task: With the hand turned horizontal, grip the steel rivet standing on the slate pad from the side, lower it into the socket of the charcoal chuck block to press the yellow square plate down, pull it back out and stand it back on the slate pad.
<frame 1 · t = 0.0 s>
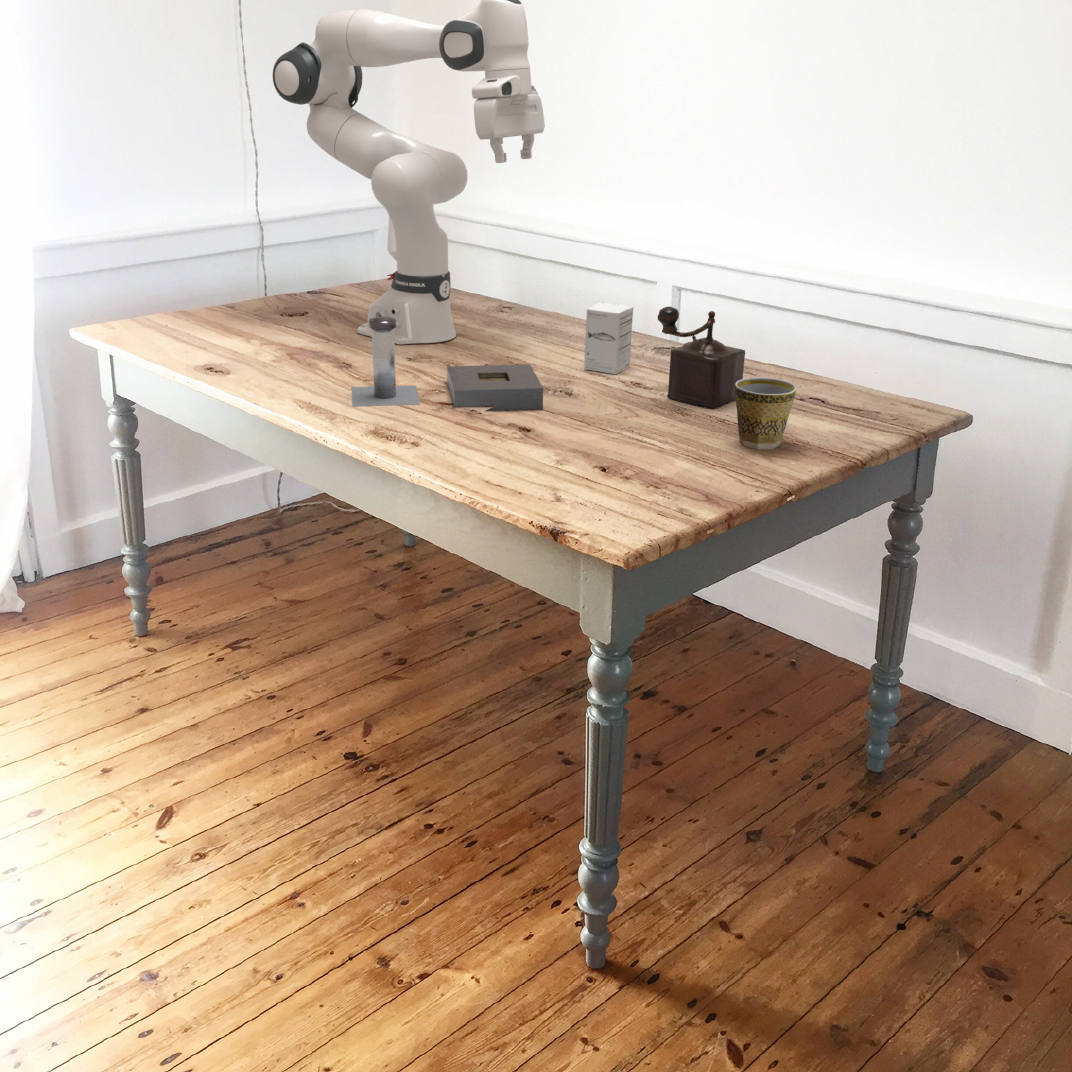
hand: (514, 160, 229), 39 cm above the table, tool pointing down, fingers open, 8 cm apart
rest pad: (385, 400, 211), on the table
manual coffee grinder: (695, 401, 215), on the table
ceramic cup: (756, 441, 195), on the table
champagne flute: (402, 302, 287), on the table
chuck block: (493, 397, 214), on the table
yellow square plate: (493, 384, 213), point 2 cm above the table, slide at 0.0 cm
supplement box: (607, 369, 234), on the table
steel rivet: (385, 395, 211), point 1 cm above the table, touching rest pad
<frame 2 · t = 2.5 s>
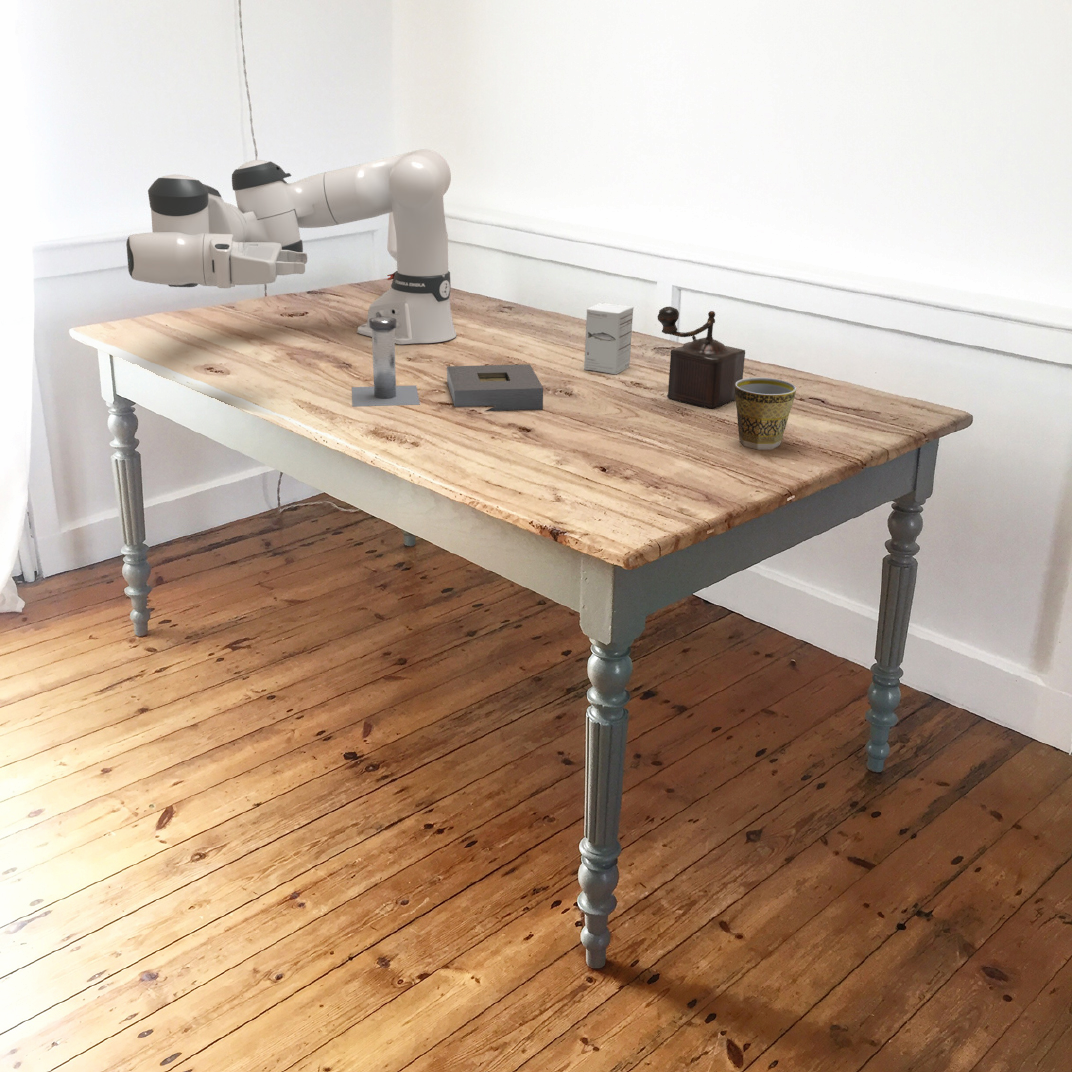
hand: (306, 263, 199), 25 cm above the table, tool horizontal, fingers open, 8 cm apart
nothing on the table moved.
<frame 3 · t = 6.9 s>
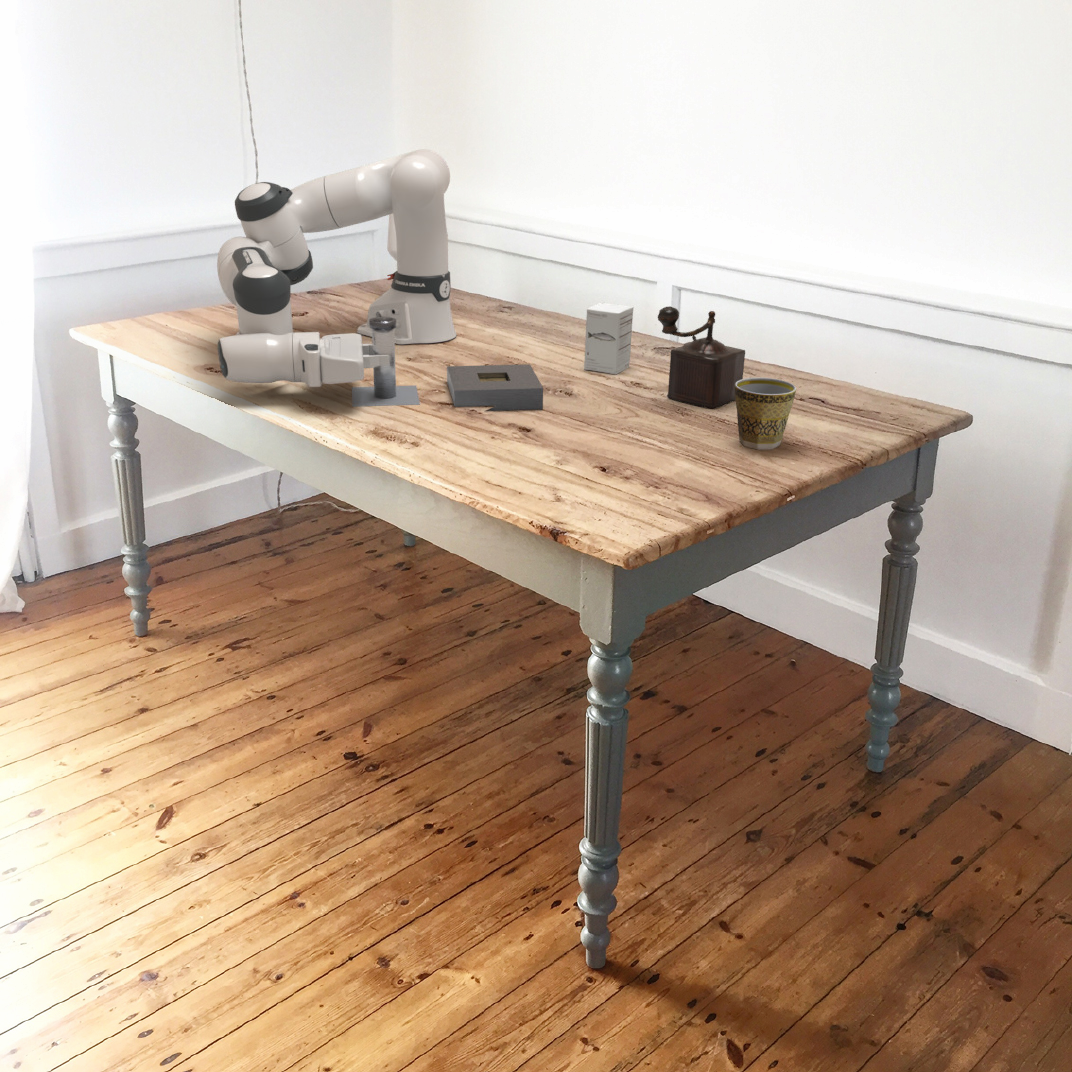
hand: (388, 355, 208), 9 cm above the table, tool horizontal, fingers closed on steel rivet, 4 cm apart
steel rivet: (385, 395, 211), point 1 cm above the table, touching gripper, rest pad
everything else where it was.
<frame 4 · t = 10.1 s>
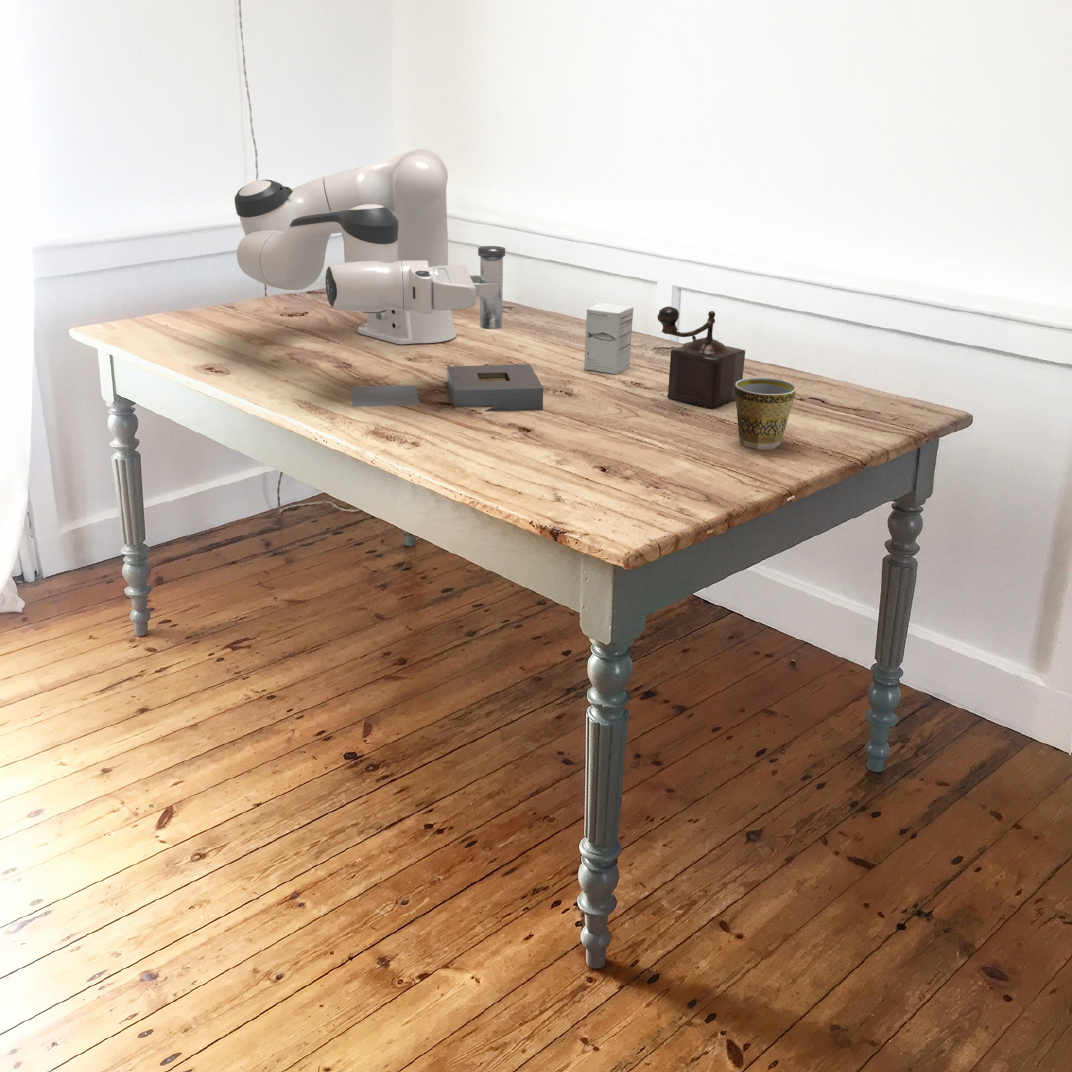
hand: (496, 285, 205), 21 cm above the table, tool horizontal, fingers closed on steel rivet, 4 cm apart
steel rivet: (491, 326, 208), point 13 cm above the table, touching gripper
everything else where it was.
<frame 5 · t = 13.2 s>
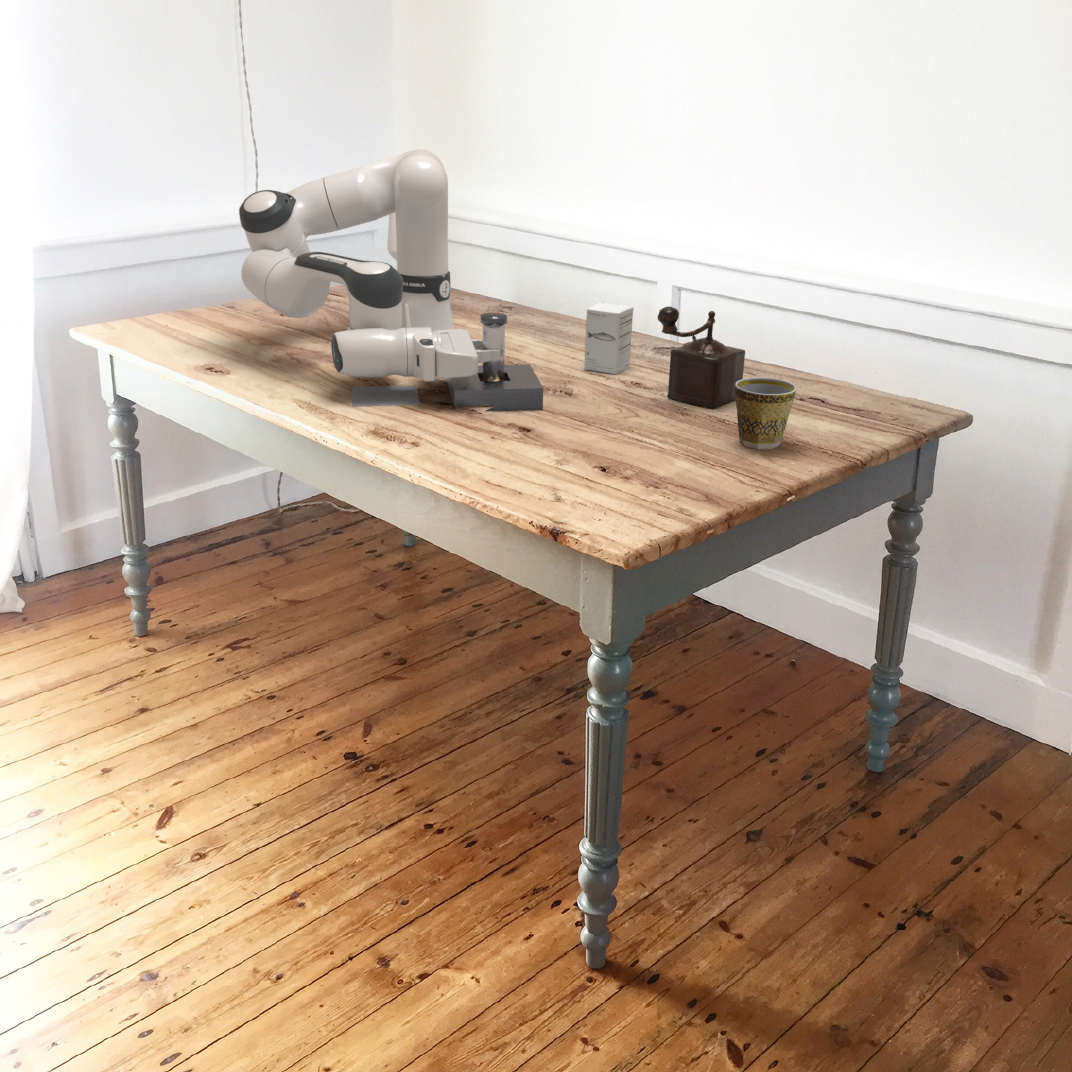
hand: (498, 350, 210), 9 cm above the table, tool horizontal, fingers closed on steel rivet, 4 cm apart
yellow square plate: (493, 392, 214), point 1 cm above the table, slide at 1.6 cm, touching steel rivet
steel rivet: (493, 390, 213), point 1 cm above the table, touching yellow square plate, gripper
everything else where it was.
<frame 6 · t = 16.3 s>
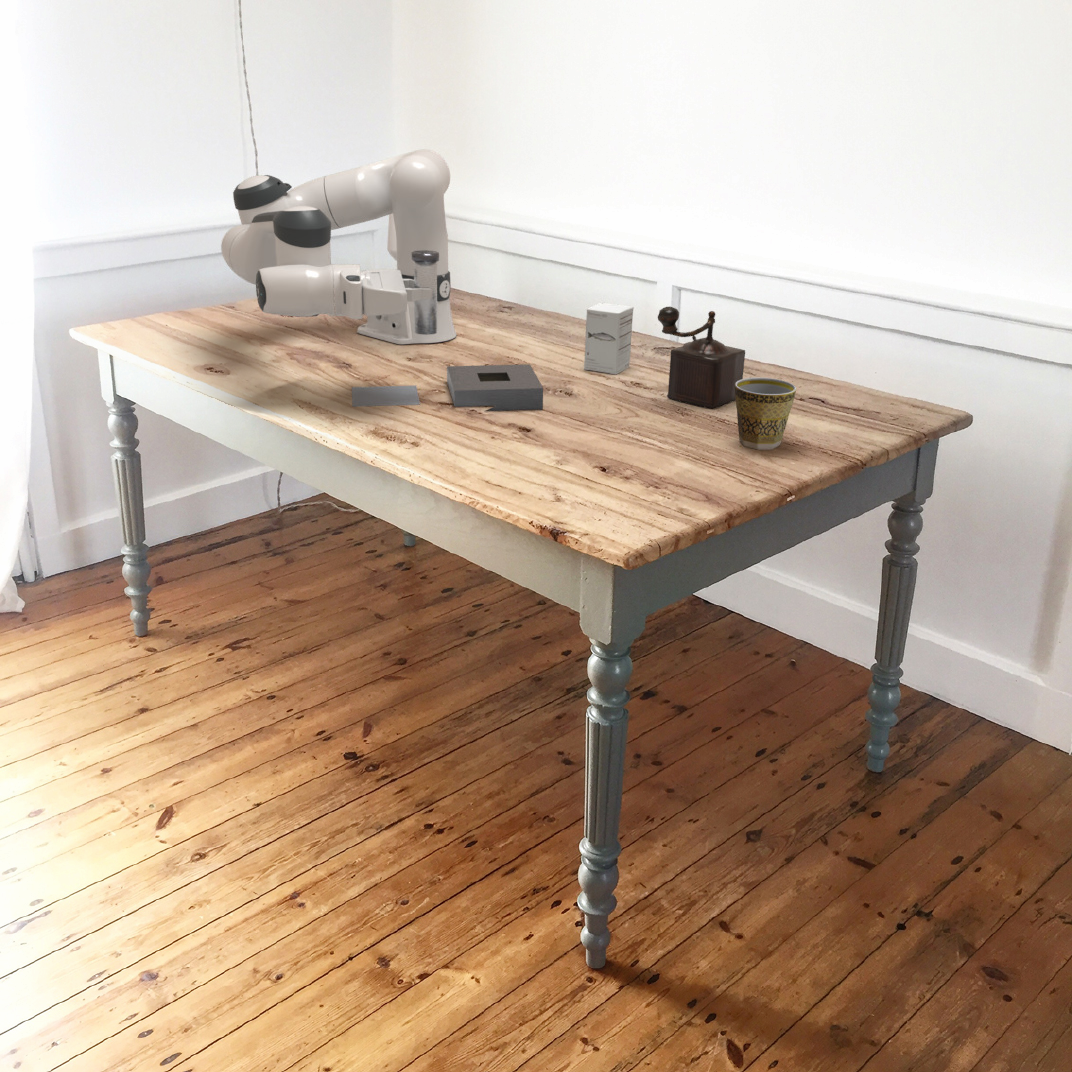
hand: (430, 289, 203), 20 cm above the table, tool horizontal, fingers closed on steel rivet, 4 cm apart
yellow square plate: (493, 392, 214), point 1 cm above the table, slide at 1.6 cm
steel rivet: (425, 332, 206), point 13 cm above the table, touching gripper
everything else where it was.
when the fingers open (9 cm above the table, at t = 19.4 s): steel rivet stays where it is, resting on rest pad.
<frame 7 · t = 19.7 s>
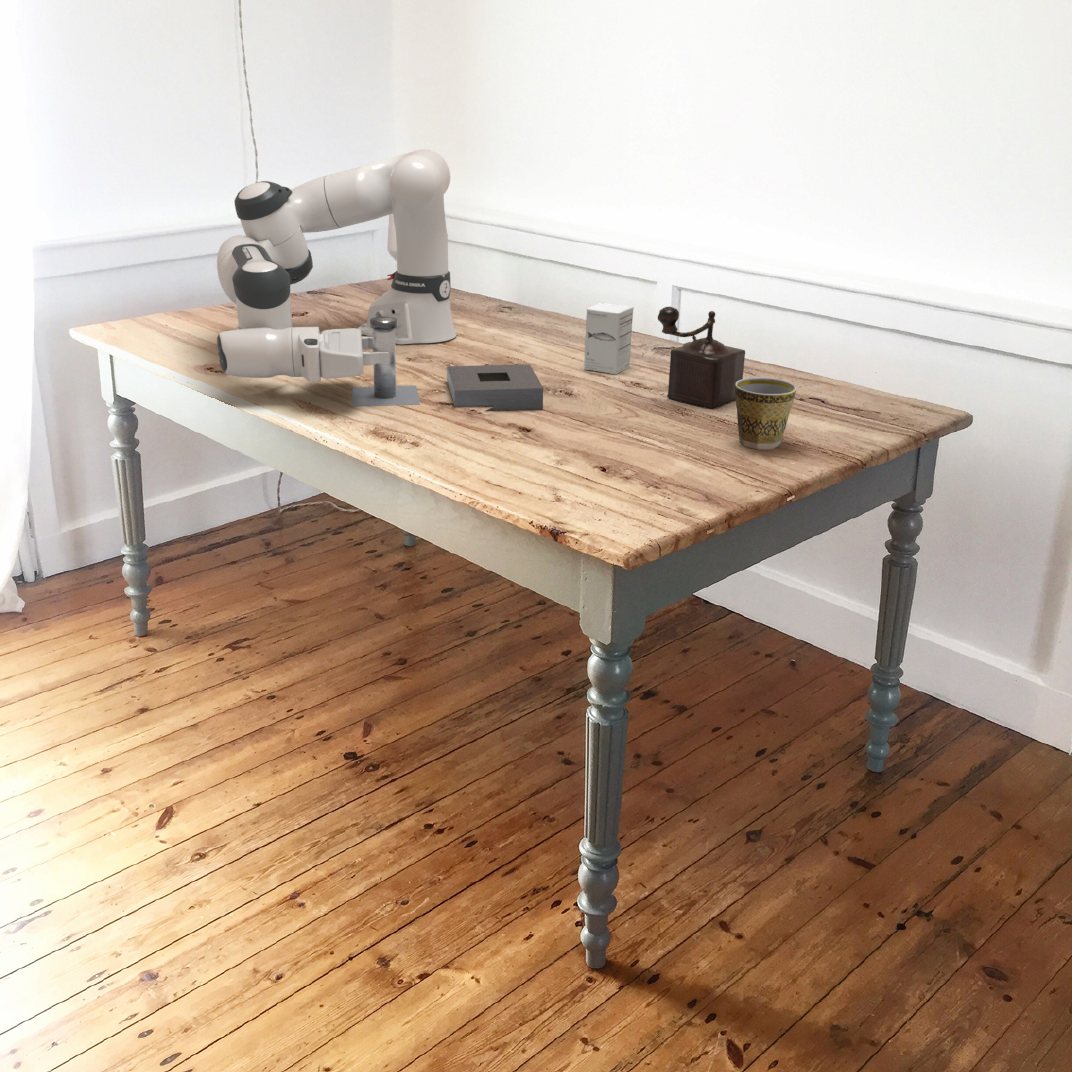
hand: (388, 350, 207), 9 cm above the table, tool horizontal, fingers open, 7 cm apart
steel rivet: (385, 395, 211), point 1 cm above the table, touching rest pad
everything else where it was.
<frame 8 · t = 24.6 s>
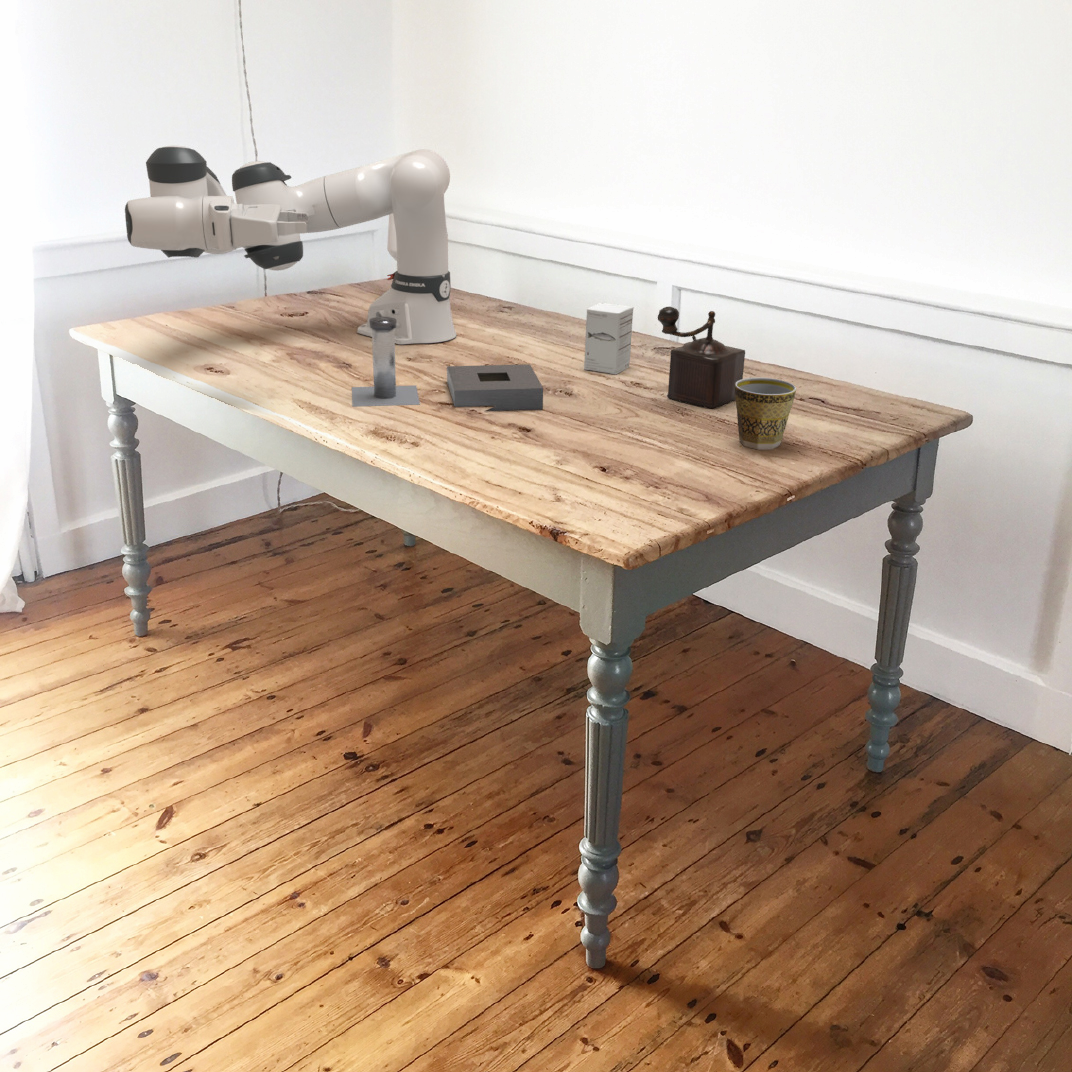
hand: (307, 222, 196), 32 cm above the table, tool horizontal, fingers open, 8 cm apart
nothing on the table moved.
at the end: yellow square plate slide at 1.6 cm; steel rivet inside the target area on the rest pad (0.1 cm from its centre), point 1.0 cm above the rest pad's base; steel rivet tilted 1° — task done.
